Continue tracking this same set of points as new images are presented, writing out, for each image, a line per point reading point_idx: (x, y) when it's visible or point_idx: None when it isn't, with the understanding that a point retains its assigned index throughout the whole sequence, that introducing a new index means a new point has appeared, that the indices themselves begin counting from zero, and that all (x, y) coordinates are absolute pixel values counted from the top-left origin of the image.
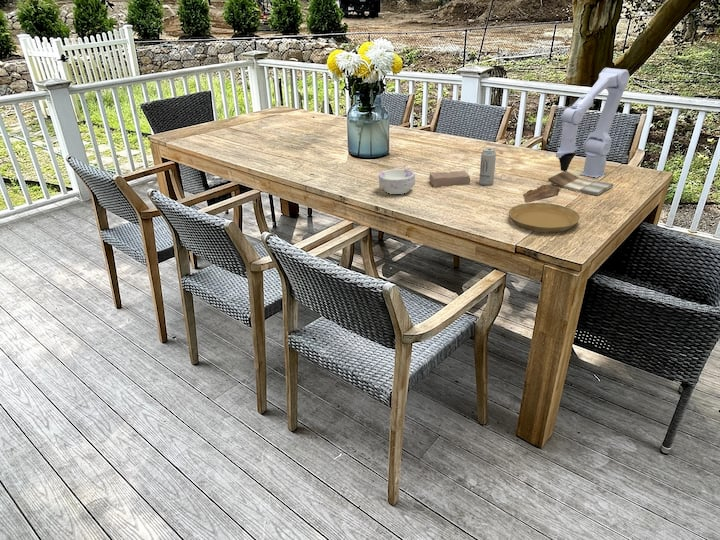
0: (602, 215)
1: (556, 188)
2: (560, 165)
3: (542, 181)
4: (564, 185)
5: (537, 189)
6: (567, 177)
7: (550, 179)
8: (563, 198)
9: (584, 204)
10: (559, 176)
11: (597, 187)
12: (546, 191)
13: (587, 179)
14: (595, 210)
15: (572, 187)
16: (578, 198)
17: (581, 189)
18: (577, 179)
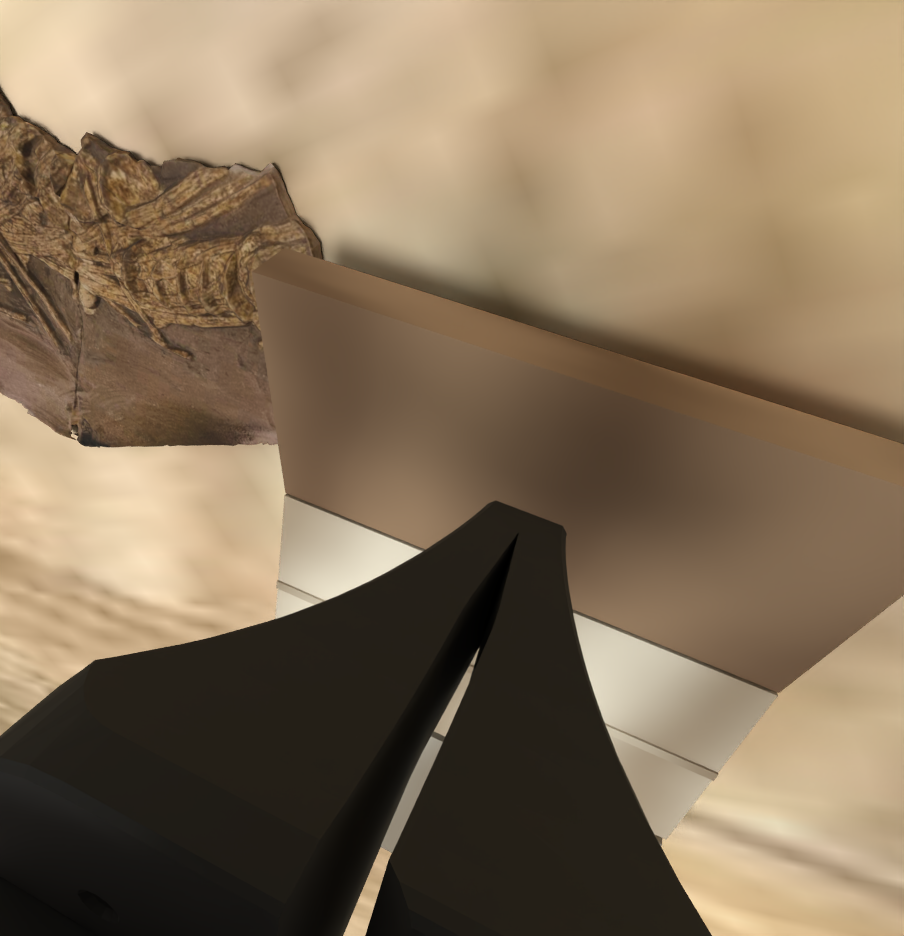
0: (3, 717)
1: (244, 403)
2: (431, 548)
3: (491, 74)
4: (306, 505)
5: (44, 161)
6: (618, 545)
7: (259, 303)
8: (61, 501)
9: (70, 647)
10: (520, 428)
11: (402, 807)
12: (77, 304)
13: (703, 776)
14: (34, 696)
15: (291, 592)
16: (146, 616)
17: None
18: (662, 663)
